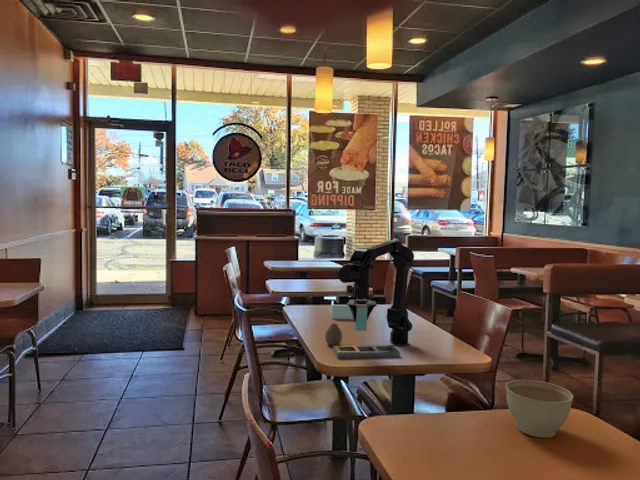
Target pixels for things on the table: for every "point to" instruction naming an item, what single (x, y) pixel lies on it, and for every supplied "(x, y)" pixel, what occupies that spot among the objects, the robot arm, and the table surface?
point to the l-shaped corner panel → (340, 311)
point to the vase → (333, 335)
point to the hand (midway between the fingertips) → (360, 321)
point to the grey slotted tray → (366, 351)
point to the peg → (361, 318)
